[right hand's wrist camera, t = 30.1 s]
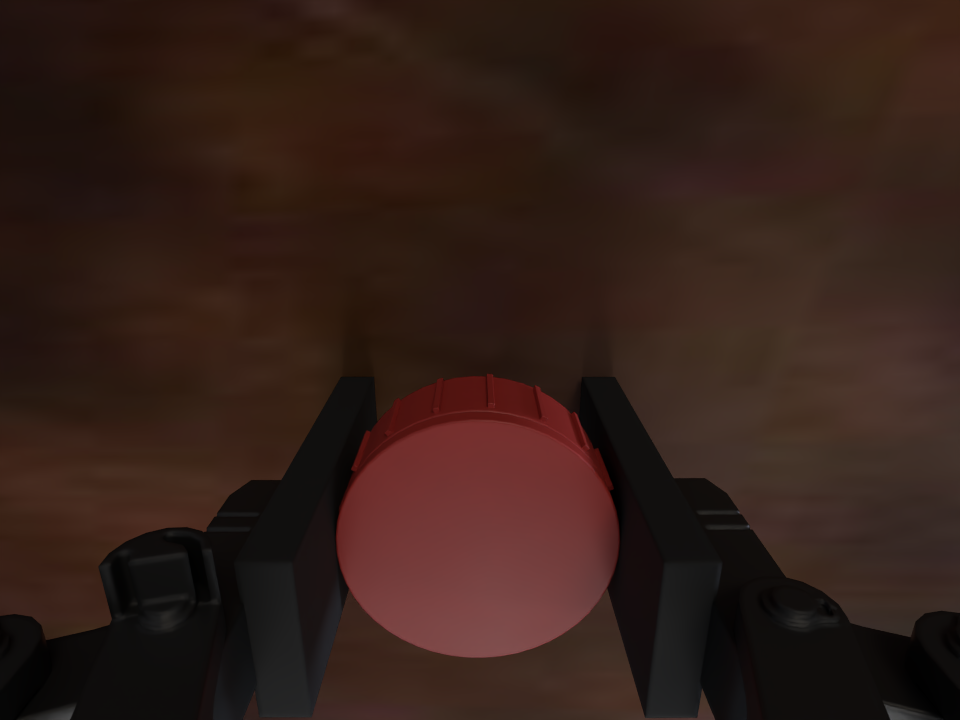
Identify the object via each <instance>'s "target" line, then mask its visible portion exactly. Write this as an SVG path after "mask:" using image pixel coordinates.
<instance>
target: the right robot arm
mask: <svg viewBox="0 0 960 720" xmlns="http://www.w3.org/2000/svg"><path fill="white" fill-rule="evenodd" d="M579 421H580V424H581V426H582V428H583V429H584V430H585V432H586V434H587V436H588V437H589V439H590V441H591V443H592V445H593V448H594V449H596V448H598V449H599V451H600V454H601V456H602V459H603V462H604V464H605V467H606V469H607V472H608V475H609V477H610V480H611V482H612V485H613V488H614V489H613V490H610V494H611V496H612V499H613V502H614V505H615V507H616V510H617V515H618V520H619V525H620V548H619V556H618V560H617V564H616V568H615V571H614V574H613V576H612V578H611V581H610V583H609V585H608V587H607V589H608V592H609V596H610V599H611V602H612V606H613V609H614V613H615V616H616V619H617V623H618V626H619V630H620V633H621V637H622V640H623V643H624V647H625V650H626V654H627V657H628V661H629V664H630V667H631V671H632V674H633V678H634V681H635V684H636V688H637V691H638V695H639V698H640V702H641V705H642V708H643V712H644V715H645V718H697V716H698V709H699V703H700V697H701V691H702V689H703V691H704V693H705V696H706V698H707V701H708V703H709V706H710V708H711V710H712V713H713V715H714V718H715V720H960V613H954V612H947V611H938V612H932V613H925V614H924V615H923V616H922V617H920V618H919V619H918V620H917V621H916V622H915V625H914V629H913V632H912V635H911V637H907V636H902V635H898V634H893V633H889V632H884V631H880V630H875V629H871V628H866V627H862V626H858V625H855V624H852V623H850V622H849V620H848V618H847V616H846V615H845V613H844V612H843V610H842V609H841V608H840V606H839V605H838V604H837V603H836V602H835V601H834V600H832V599H831V598H830V597H828V596H827V595H826V594H825V593H823V592H822V591H820V590H818V589H816V588H814V587H812V586H810V585H808V584H806V583H804V582H801V581H797V580H793V579H790V578H786V577H785V575H784V574H783V572H782V571H781V570H780V568H779V567H778V565H777V564H776V563H775V561H774V560H773V558H772V557H771V555H770V554H769V553H768V551H767V550H766V548H765V547H764V545H763V544H762V543H761V541H760V540H759V538H758V537H757V536H756V534H755V533H754V531H753V530H750V526H749V524H748V523H747V521H746V520H745V519H744V517H743V516H742V515H740V514H739V510H738V509H737V507H736V506H735V504H734V503H733V502H732V500H731V499H730V497H729V496H728V494H727V493H726V492H724V491H723V490H721V489H720V488H718V487H717V486H715V485H714V484H713V483H711V482H710V481H708V480H707V479H705V478H673V477H672V475H671V473H670V471H669V470H668V468H667V466H666V464H665V463H664V461H663V459H662V458H661V456H660V454H659V452H658V451H657V449H656V447H655V445H654V444H653V442H652V440H651V439H650V437H649V435H648V433H647V432H646V430H645V428H644V427H643V425H642V423H641V421H640V420H639V418H638V416H637V414H636V413H635V411H634V409H633V408H632V406H631V404H630V402H629V401H628V399H627V397H626V395H625V394H624V392H623V390H622V389H621V387H620V385H619V383H618V382H617V380H616V378H615V377H582V387H581V403H580V419H579ZM376 423H377V417H376V401H375V386H374V377H341V378H340V380H339V382H338V383H337V385H336V387H335V389H334V390H333V392H332V394H331V395H330V397H329V399H328V401H327V402H326V404H325V406H324V408H323V409H322V411H321V413H320V414H319V416H318V418H317V420H316V421H315V423H314V425H313V427H312V428H311V430H310V432H309V433H308V435H307V437H306V439H305V440H304V442H303V444H302V446H301V447H300V449H299V451H298V452H297V454H296V456H295V458H294V459H293V461H292V463H291V465H290V466H289V468H288V470H287V471H286V473H285V475H284V477H283V478H282V480H251V481H250V482H248V483H247V484H245V485H244V486H242V487H241V488H240V489H238V490H237V491H235V492H234V493H232V494H231V495H230V496H229V497H228V498H227V500H226V501H225V503H224V504H223V506H222V507H221V508H220V510H219V511H218V513H217V517H214V519H213V520H212V521H211V523H210V524H209V526H208V527H207V532H204V533H203V532H202V531H200V530H196V529H192V528H188V527H180V528H165V529H161V530H156V531H152V532H148V533H145V534H143V535H140V536H138V537H136V538H133V539H131V540H129V541H126V542H125V543H123V544H122V545H120V546H119V547H118V548H116V549H115V550H113V551H112V552H110V553H109V554H108V555H107V557H106V558H105V559H104V560H103V562H102V563H101V564H100V565H99V571H100V574H101V578H102V582H103V586H104V590H105V594H106V598H107V601H108V605H109V609H110V613H111V617H112V621H111V623H110V625H108V626H104V627H101V628H98V629H94V630H90V631H85V632H81V633H77V634H72V635H68V636H63V637H59V638H55V639H50V640H45V636H44V633H43V630H42V627H41V625H40V624H39V623H38V622H37V621H36V620H35V619H34V618H32V617H29V616H23V615H17V614H12V615H5V616H0V720H243V717H244V715H245V712H246V710H247V707H248V705H249V703H250V700H251V698H252V695H253V693H254V690H255V693H256V699H257V705H258V711H259V717H312V714H313V710H314V707H315V703H316V700H317V696H318V693H319V690H320V686H321V683H322V679H323V676H324V672H325V669H326V666H327V662H328V659H329V655H330V652H331V648H332V645H333V641H334V638H335V635H336V631H337V628H338V624H339V621H340V617H341V614H342V611H343V607H344V604H345V600H346V597H347V593H348V590H349V588H348V586H347V584H346V582H345V579H344V577H343V574H342V572H341V569H340V565H339V561H338V557H337V551H336V526H337V519H338V515H339V507H340V505H341V502H342V499H343V497H344V494H345V492H346V489H347V486H348V484H349V481H350V478H351V476H352V473H353V470H351V468H352V465H353V463H354V460H355V458H356V455H357V452H358V450H359V447H360V444H361V442H362V439H363V436H364V434H365V432H366V431H367V430H368V431H369V432H371V430H372V429H373V427H374V426H375V425H376Z"/></svg>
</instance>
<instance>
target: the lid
mask: <svg viewBox="0 0 960 720" xmlns="http://www.w3.org/2000/svg"><path fill="white" fill-rule="evenodd" d="M351 470H353V473H352V476H351V478H350V481H349V484H348V486H347V489H346V492H345V494H344V497H343V499H342V502H341V505H340V507H339V515H338V519H337V526H336V551H337V557H338V561H339V565H340V569H341V572H342V574H343V577H344V579H345V582H346V584H347V586H348V588H349V589H350V591H351V593H352V595H353V596H354V598H355V599H356V600H357V602H358V603H359V604H360V606H361V607H362V608H363V610H364V611H365V612H366V613H367V614H368V615H369V616H370V617H371V618H372V619H373V620H374V621H376V622H377V623H378V624H379V625H381V626H382V627H383V628H385V629H386V630H387V631H389V632H390V633H392V634H394V635H395V636H397V637H399V638H400V639H402V640H404V641H406V642H409V643H411V644H413V645H415V646H417V647H420V648H423V649H426V650H429V651H432V652H436V653H441V654H445V655H450V656H459V657H472V658H486V657H497V656H504V655H510V654H515V653H519V652H523V651H526V650H529V649H532V648H535V647H538V646H540V645H542V644H545V643H547V642H549V641H551V640H553V639H555V638H557V637H558V636H560V635H562V634H564V633H565V632H567V631H568V630H569V629H571V628H572V627H573V626H575V625H576V624H577V623H579V622H580V621H581V620H582V619H583V618H584V617H585V616H586V615H587V614H588V613H589V612H590V611H591V610H592V609H593V607H594V606H595V605H596V604H597V603H598V601H599V600H600V599H601V597H602V595H603V594H604V592H605V591H606V589H607V587H608V585H609V583H610V581H611V578H612V576H613V574H614V571H615V568H616V564H617V560H618V556H619V548H620V525H619V520H618V515H617V510H616V507H615V505H614V502H613V499H612V496H611V494H610V490H613V489H614V488H613V485H612V482H611V480H610V477H609V475H608V472H607V469H606V467H605V464H604V462H603V459H602V456H601V454H600V451H599V449H598V448H596V449H594V448H593V445H592V443H591V441H590V439H589V437H588V436H587V434H586V432H585V430H584V429H583V428H582V426H581V424H580V421H579V418H578V415H577V414H576V413H575V412H573V413H572V414H571V413H570V412H569V411H568V410H567V409H566V408H565V407H563V406H562V405H561V404H560V403H558V402H557V401H556V400H554V399H553V398H551V397H550V396H548V395H546V394H544V393H543V392H541V390H540V387H538V386H536V385H535V386H534V388H532V387H530V386H528V385H525V384H523V383H519V382H515V381H512V380H508V379H503V378H496V377H493V374H487V377H484V376H470V377H460V378H453V379H449V380H443V378H440V379H437V383H434V384H431V385H428V386H426V387H423V388H421V389H419V390H417V391H415V392H413V393H411V394H409V395H408V396H406V397H405V398H403V399H402V400H400V399H399V398H397V399H396V400H395V401H394V404H393V407H392V408H390V409H389V410H388V411H387V412H386V413H385V414H384V415H383V416H382V417H381V419H380V420H379V421H378V422H377V423H376V425H375V426H374V427H373V429H372V430H371V432H369V431H368V430H367V431H366V432H365V434H364V436H363V439H362V442H361V444H360V447H359V450H358V452H357V455H356V458H355V460H354V463H353V465H352V468H351Z"/></svg>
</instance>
